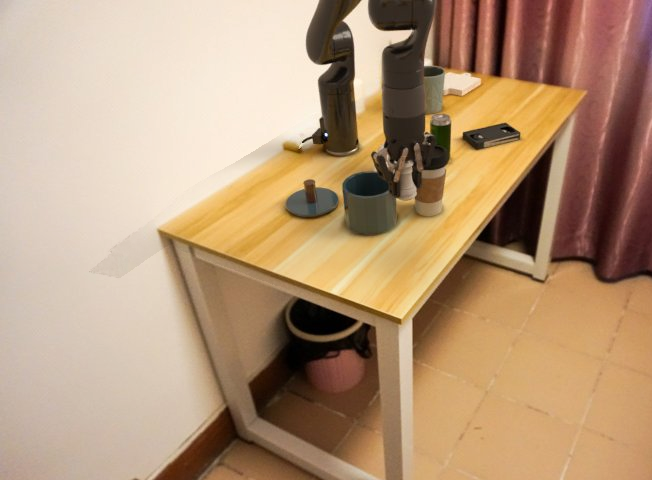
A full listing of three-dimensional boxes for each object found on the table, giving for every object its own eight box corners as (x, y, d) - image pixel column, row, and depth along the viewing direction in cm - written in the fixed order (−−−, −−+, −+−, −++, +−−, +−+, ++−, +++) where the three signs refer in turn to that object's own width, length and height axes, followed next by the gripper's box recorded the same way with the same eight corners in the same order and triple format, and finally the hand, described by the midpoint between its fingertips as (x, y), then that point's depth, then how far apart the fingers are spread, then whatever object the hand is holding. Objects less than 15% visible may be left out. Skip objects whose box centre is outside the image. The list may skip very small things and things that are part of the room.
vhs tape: (476, 149, 148) (477, 143, 147) (462, 138, 154) (462, 132, 152) (520, 139, 152) (521, 132, 151) (505, 128, 158) (505, 122, 157)
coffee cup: (435, 223, 120) (436, 162, 111) (403, 213, 124) (401, 153, 115) (453, 205, 126) (455, 146, 117) (421, 196, 129) (421, 138, 120)
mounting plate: (457, 98, 177) (458, 92, 176) (425, 91, 184) (425, 85, 182) (484, 82, 189) (484, 76, 188) (452, 75, 195) (452, 70, 194)
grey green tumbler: (449, 106, 173) (451, 68, 165) (434, 117, 166) (434, 78, 159) (422, 100, 177) (422, 63, 170) (406, 111, 170) (405, 73, 163)
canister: (338, 231, 119) (333, 193, 113) (356, 204, 127) (353, 168, 122) (387, 238, 116) (385, 200, 110) (402, 210, 125) (401, 174, 119)
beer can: (437, 167, 141) (438, 123, 133) (425, 159, 144) (425, 116, 137) (454, 161, 143) (455, 118, 136) (442, 153, 147) (442, 111, 139)
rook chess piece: (400, 203, 103) (399, 166, 98) (390, 193, 106) (388, 156, 101) (421, 197, 105) (421, 160, 100) (410, 187, 108) (409, 151, 103)
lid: (277, 214, 125) (272, 192, 121) (300, 188, 134) (296, 166, 130) (326, 222, 122) (323, 199, 118) (346, 194, 131) (344, 172, 127)
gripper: (421, 91, 100) (421, 172, 111) (358, 111, 93) (364, 196, 104) (448, 103, 95) (445, 187, 106) (383, 125, 88) (387, 213, 99)
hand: (405, 191), depth 105 cm, fingers closed on rook chess piece, 4 cm apart
